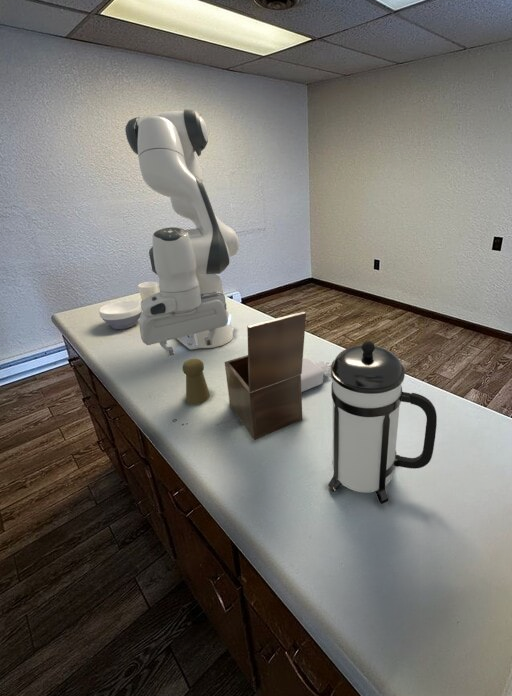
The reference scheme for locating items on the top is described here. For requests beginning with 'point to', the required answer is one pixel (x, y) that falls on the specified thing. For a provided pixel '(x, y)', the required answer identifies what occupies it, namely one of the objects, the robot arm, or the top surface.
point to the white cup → (148, 289)
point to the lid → (275, 350)
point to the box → (263, 400)
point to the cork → (195, 382)
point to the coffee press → (371, 419)
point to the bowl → (121, 313)
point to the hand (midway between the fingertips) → (190, 349)
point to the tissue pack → (312, 374)
